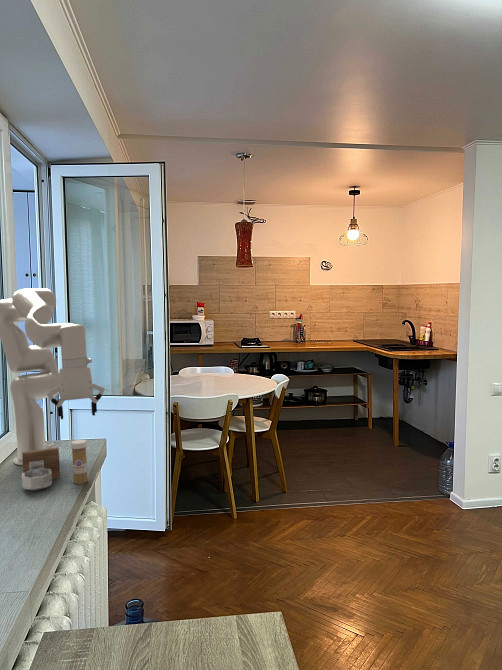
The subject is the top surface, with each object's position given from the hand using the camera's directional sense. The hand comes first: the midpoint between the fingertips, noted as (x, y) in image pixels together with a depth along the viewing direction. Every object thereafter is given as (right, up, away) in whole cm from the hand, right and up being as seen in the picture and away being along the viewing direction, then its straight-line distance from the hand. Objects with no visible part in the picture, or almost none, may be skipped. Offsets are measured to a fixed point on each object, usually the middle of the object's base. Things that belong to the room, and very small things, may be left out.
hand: (77, 416), depth 168 cm
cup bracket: (-12, -21, -2) cm, 24 cm away
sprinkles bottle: (0, -22, +2) cm, 22 cm away
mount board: (-14, -21, +7) cm, 26 cm away
